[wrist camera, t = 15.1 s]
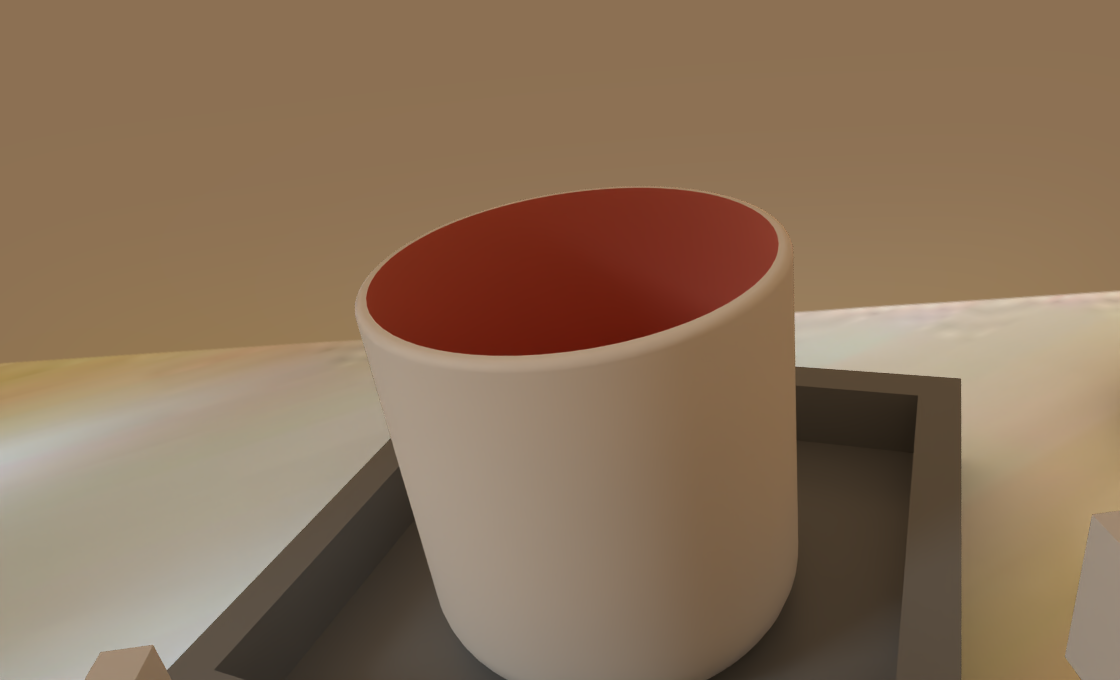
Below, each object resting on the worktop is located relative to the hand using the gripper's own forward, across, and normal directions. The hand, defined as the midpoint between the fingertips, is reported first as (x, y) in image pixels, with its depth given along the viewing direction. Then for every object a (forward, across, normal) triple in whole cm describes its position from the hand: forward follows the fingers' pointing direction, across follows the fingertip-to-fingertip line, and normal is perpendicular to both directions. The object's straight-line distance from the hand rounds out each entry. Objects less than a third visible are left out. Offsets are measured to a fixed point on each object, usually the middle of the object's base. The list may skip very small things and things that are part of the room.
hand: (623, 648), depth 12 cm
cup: (+9, 0, -8) cm, 12 cm away
